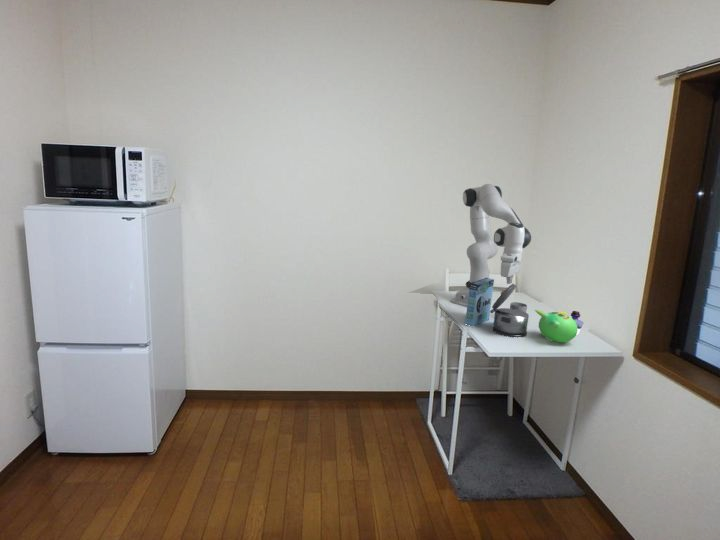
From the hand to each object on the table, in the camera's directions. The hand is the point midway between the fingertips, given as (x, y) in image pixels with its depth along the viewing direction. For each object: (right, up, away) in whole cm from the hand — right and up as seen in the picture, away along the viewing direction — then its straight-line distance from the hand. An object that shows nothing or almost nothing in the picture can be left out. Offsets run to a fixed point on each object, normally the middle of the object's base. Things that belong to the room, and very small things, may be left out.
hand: (509, 283), depth 220 cm
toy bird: (+20, -28, -6) cm, 35 cm away
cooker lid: (-1, -8, +2) cm, 9 cm away
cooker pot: (+1, -25, +3) cm, 25 cm away
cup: (+11, -22, +21) cm, 32 cm away
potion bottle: (+34, -26, +6) cm, 44 cm away
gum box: (-12, -22, +16) cm, 29 cm away
